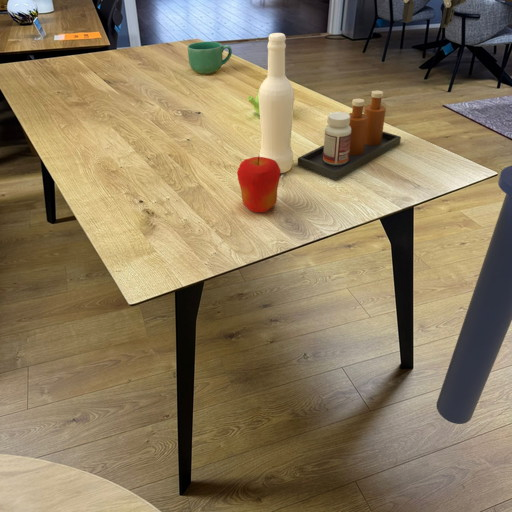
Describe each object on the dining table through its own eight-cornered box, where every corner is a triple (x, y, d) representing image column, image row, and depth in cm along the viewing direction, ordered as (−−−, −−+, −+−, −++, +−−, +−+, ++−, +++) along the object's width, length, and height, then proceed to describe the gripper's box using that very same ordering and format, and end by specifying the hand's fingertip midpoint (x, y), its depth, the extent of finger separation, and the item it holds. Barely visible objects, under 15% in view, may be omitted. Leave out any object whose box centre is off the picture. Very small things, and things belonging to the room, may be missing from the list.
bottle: (256, 162, 118) (253, 30, 100) (287, 158, 119) (290, 28, 101) (263, 176, 112) (261, 39, 94) (296, 173, 113) (301, 36, 95)
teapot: (255, 107, 150) (254, 79, 145) (291, 108, 148) (292, 81, 143) (247, 120, 141) (246, 91, 136) (286, 122, 139) (286, 92, 134)
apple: (282, 198, 103) (282, 147, 96) (277, 218, 97) (277, 165, 90) (243, 195, 105) (241, 145, 98) (235, 215, 98) (232, 163, 91)
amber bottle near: (367, 150, 121) (374, 99, 113) (355, 157, 118) (361, 105, 110) (350, 145, 124) (355, 95, 116) (338, 151, 121) (343, 100, 113)
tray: (362, 132, 132) (363, 125, 130) (399, 144, 125) (401, 136, 124) (297, 165, 116) (297, 157, 115) (335, 180, 109) (336, 172, 108)
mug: (191, 77, 176) (189, 50, 171) (188, 68, 186) (185, 42, 181) (235, 74, 179) (234, 47, 173) (230, 65, 189) (228, 39, 183)
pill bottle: (348, 156, 118) (353, 111, 112) (347, 167, 113) (352, 121, 107) (323, 154, 119) (326, 110, 113) (321, 165, 114) (324, 119, 108)
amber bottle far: (384, 141, 125) (392, 91, 117) (373, 147, 122) (380, 97, 115) (368, 136, 128) (374, 87, 120) (356, 141, 125) (362, 92, 118)
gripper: (486, -68, 90) (465, 26, 99) (417, -70, 98) (404, 17, 108) (468, -66, 85) (448, 32, 95) (398, -68, 94) (386, 23, 103)
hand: (425, 24), depth 101 cm, fingers open, 8 cm apart
